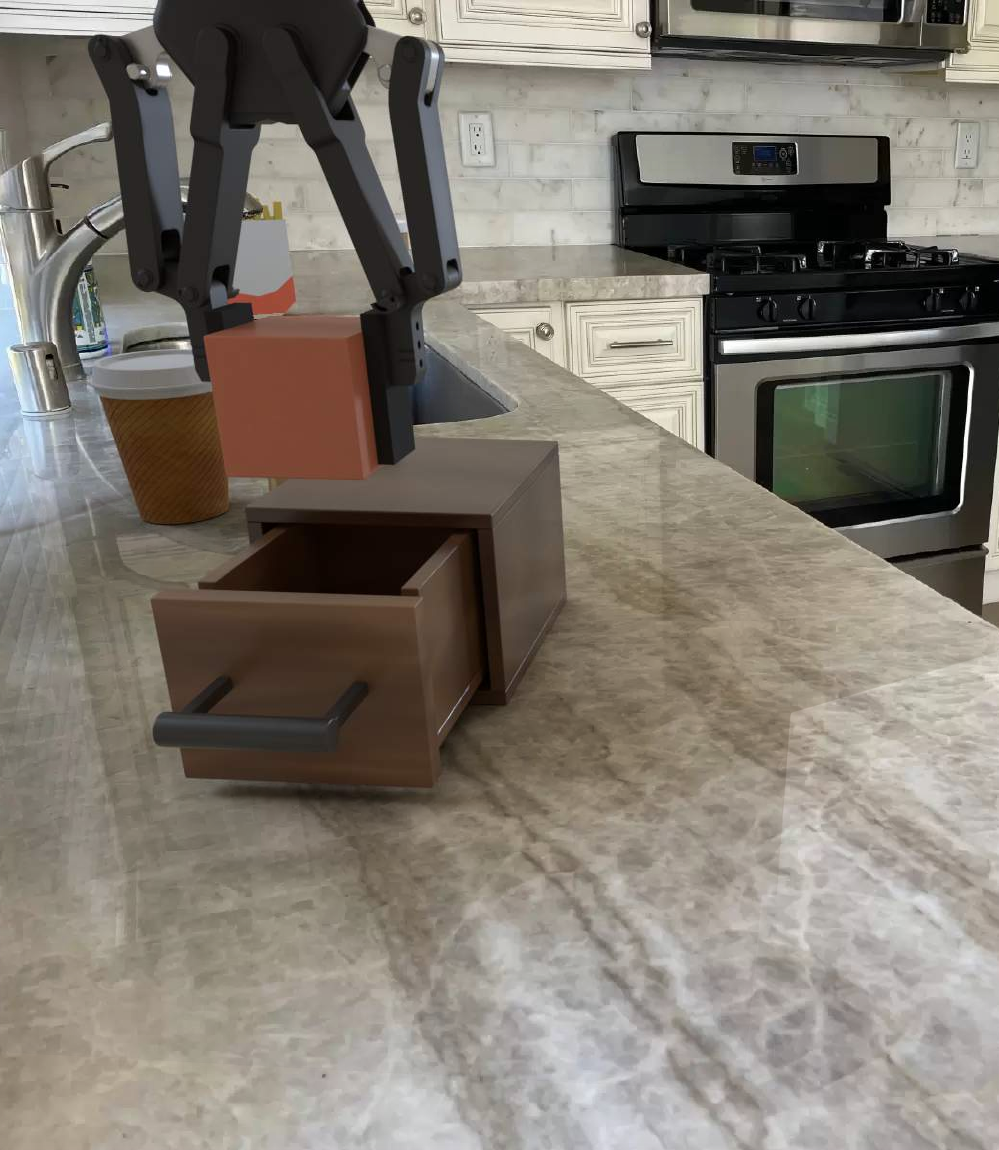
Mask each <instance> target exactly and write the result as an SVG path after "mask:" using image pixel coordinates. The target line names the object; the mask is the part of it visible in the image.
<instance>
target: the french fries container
mask: <svg viewBox="0 0 999 1150" xmlns="http://www.w3.org/2000/svg"><path fill="white" fill-rule="evenodd" d="M253 198H254V199H255V200H257V201H258V202H259V203H260V198H258V197H253ZM262 206H263V211H262V215H261V213H260V215H258V216H256V217H254V218H252V217H251V218H250V219H246V220H242V225H241V232H240V239H239V245H238V252H237V259H236V266H235V273H234V280H233V287H234V289H240V291H239V294H238V295H237V296H236V297H235V298H231V299H228V304H232V303H252V309H253V315H258V314H273V313H284V314H286V312H287V311H288V310H289V309H290V308H291V307H292V306H293V305H294V304H295V303H296V302H297V298H296V291H295V290H296V289H295V282H294V275H293V268H292V260H291V252H290V245H289V238H288V229H287V223H286V219H285V218H283V207H282V201H272V209H273V215H271V213H270V209H269V206H268V205H266V204H265V205H262ZM262 217H263V218H262ZM234 289H233V290H234Z"/></svg>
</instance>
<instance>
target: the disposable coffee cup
mask: <svg viewBox="0 0 999 1150" xmlns="http://www.w3.org/2000/svg"><path fill="white" fill-rule="evenodd" d="M193 358H194V356H193V354H192V348H191V349H187V348H182V349H181V348H172V349H169V348H168V349H167V348H165V349H153V350H151V349H150V350H141V351H132V352H126V353H120V354H119V353H118V354H114V355H109V356H105V357H102V358H99V359H97V360H95V361H94V362H92V372H91V373H92V375H91V376H92V377H91V378H90V379H88V384H89V386H90V387H92V388H93V390H94V393H95V395H97V396H98V397H99V400H100V402H101V405H102V408H103V411H104V415H105V417H106V421H107V424H108V427H109V430H110V433H111V435H112V437H113V441H114V444H115V447H116V449H117V452H118V455H119V458H120V460H121V465H122V467H123V470H124V472H125V475H126V479H127V482H128V485H129V487H130V491H131V493H132V496H133V498H134V503H135V504H136V508H137V511H138V515H139V516H140V517H139V518H140V519H141V520H142V521H144V522H148V523H152V524H158V525H159V524H160V525H180V524H186V523H195V522H200V521H205V520H208V519H212V518H215V517H219V516H220V515H222V514H224V513H225V512H227V511H228V510H229V508H230V504H229V503H230V501H229V500H230V499H229V498H230V497H229V496H230V495H229V477H227V476H226V470H225V464H224V458H223V452H222V446H221V440H220V434H219V428H218V421H217V415H216V409H215V403H214V397H213V391H212V385H211V382H202V381H201V380H200V378H199V376H198V374H197V372H196V371H195V365H194V360H193Z"/></svg>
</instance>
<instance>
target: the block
mask: <svg viewBox="0 0 999 1150" xmlns="http://www.w3.org/2000/svg"><path fill="white" fill-rule="evenodd" d="M204 342H205V349H206V355H207V361H208V367H209V373H210V379H211V385H212V391H213V397H214V403H215V409H216V415H217V421H218V428H219V434H220V440H221V446H222V452H223V458H224V464H225V470H226V476H227V477H228V478H249V479H250V478H253V479H268V478H290V479H333V480H364V479H365V478H367V477H368V476H370V475H371V474H372V473H374V472H375V471H377V470H378V469H379V468H381V467H382V466H384V465H378V459H377V451H376V442H375V434H374V426H373V417H372V409H371V400H370V392H369V383H368V375H367V367H366V358H365V350H364V341H363V334H362V330H361V322H360V316H327V315H326V316H325V315H324V316H323V315H318V316H317V315H282V316H268V317H265V318H261V319H257V320H254V321H252V322H248V323H245V324H242V325H238V326H235V327H232V328H229V329H225V330H222V331H219V332H216V333H212V334H209V335H206V336H204Z"/></svg>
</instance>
